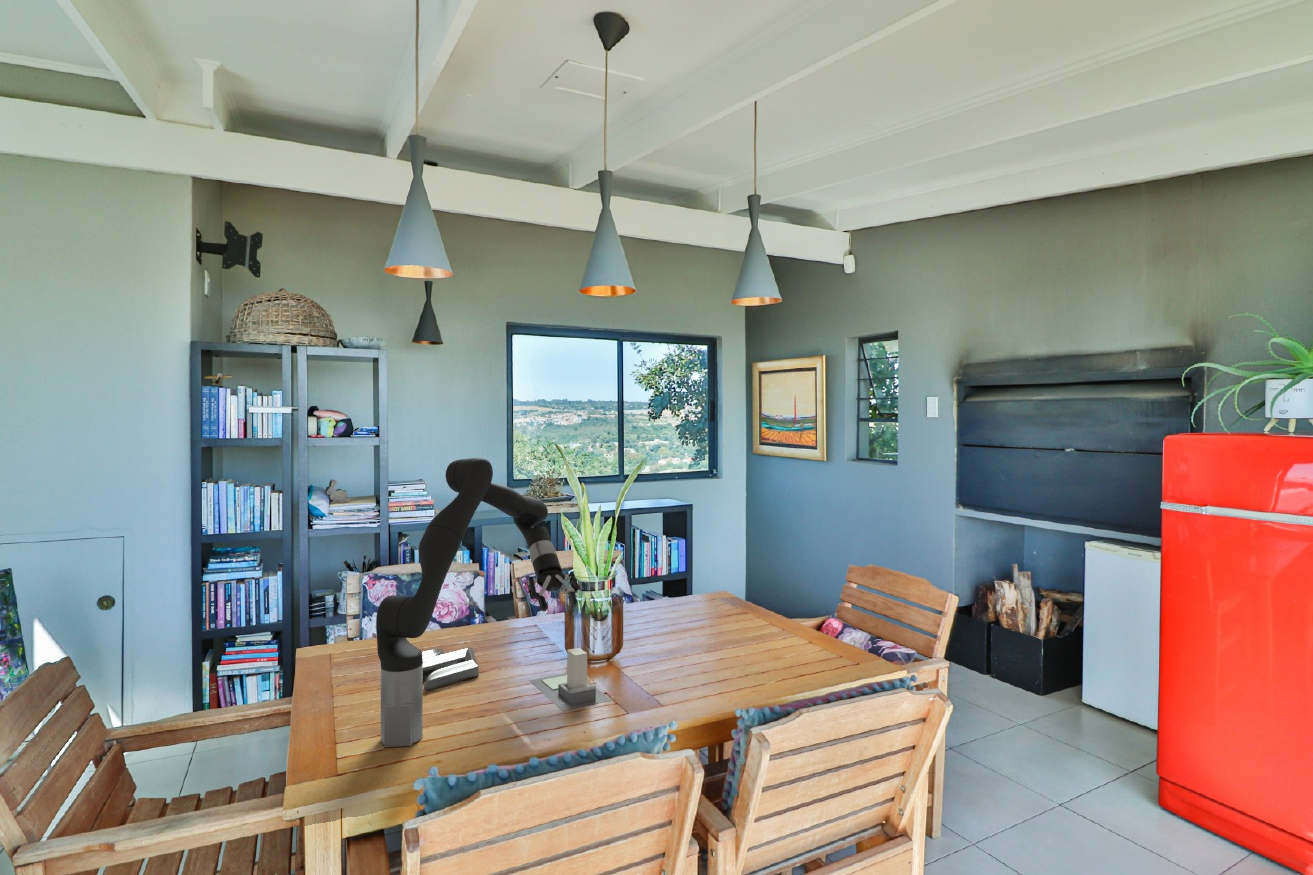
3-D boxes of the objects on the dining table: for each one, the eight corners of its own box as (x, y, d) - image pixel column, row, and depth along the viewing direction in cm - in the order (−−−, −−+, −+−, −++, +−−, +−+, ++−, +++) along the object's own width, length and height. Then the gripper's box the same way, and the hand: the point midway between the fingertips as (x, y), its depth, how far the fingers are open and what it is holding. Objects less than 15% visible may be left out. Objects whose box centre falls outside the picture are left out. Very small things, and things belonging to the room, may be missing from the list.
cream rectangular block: (574, 700, 188) (574, 655, 188) (566, 694, 193) (567, 649, 192) (586, 698, 190) (587, 653, 190) (578, 691, 195) (579, 647, 194)
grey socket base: (562, 715, 182) (563, 696, 182) (528, 684, 203) (528, 667, 202) (612, 704, 189) (612, 686, 189) (574, 675, 210) (574, 659, 210)
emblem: (415, 638, 227) (498, 645, 222) (415, 655, 227) (498, 662, 222) (361, 669, 200) (454, 677, 194) (362, 688, 200) (454, 696, 194)
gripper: (524, 554, 204) (539, 603, 195) (570, 549, 212) (587, 597, 202) (518, 569, 209) (532, 618, 200) (563, 564, 216) (579, 611, 207)
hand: (560, 607), depth 201 cm, fingers open, 8 cm apart
